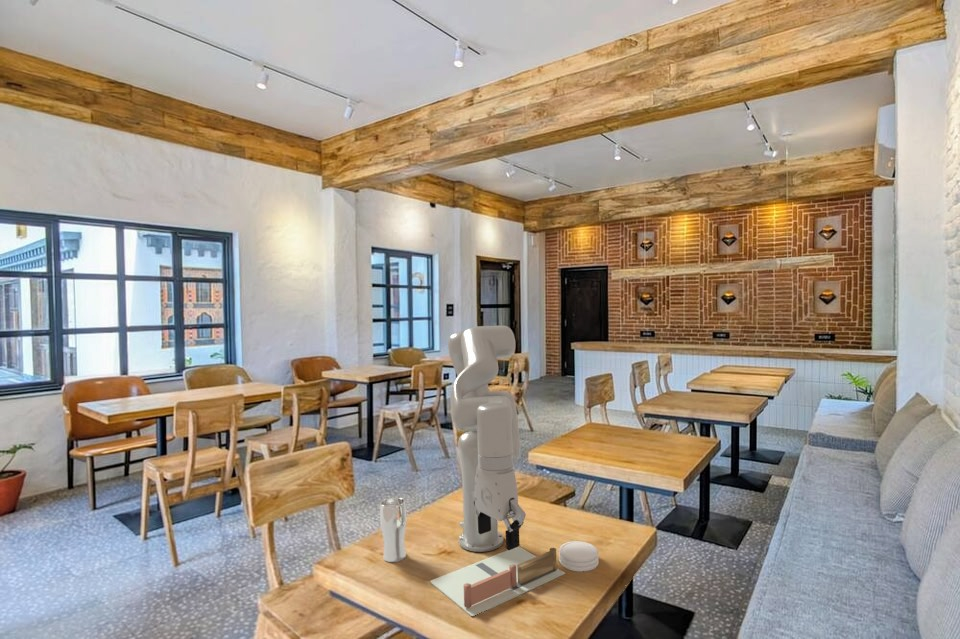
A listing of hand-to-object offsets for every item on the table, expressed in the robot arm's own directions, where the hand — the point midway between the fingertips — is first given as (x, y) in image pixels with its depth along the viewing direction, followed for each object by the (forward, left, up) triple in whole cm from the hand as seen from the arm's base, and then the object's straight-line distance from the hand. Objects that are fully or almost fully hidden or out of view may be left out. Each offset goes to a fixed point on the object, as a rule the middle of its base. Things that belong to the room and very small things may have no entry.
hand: (498, 539), depth 112 cm
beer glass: (-38, -6, -17) cm, 42 cm away
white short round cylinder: (-5, +30, -17) cm, 35 cm away
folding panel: (-6, +2, -16) cm, 17 cm away
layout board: (-12, +9, -17) cm, 22 cm away
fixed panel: (-6, +16, -17) cm, 24 cm away
